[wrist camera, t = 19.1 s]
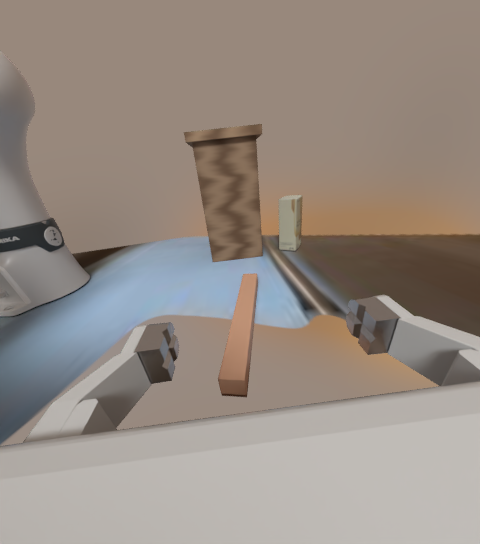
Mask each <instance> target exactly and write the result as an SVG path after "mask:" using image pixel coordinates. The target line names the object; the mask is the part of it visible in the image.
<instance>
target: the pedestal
mask: <svg viewBox="0 0 480 544" xmlns="http://www.w3.org/2000/svg"><path fill="white" fill-rule="evenodd" d="M261 134H262V124H258V125H248V126H239V127H230V128H220V129H211V130H202V131H192V132H185V133H184V135H185V140H186V143H187V144H189V145H190V146H192V147H193V151H194V157H195V162H196V168H197V173H198V179H199V185H200V191H201V196H202V201H203V208H204V214H205V219H206V225H207V231H208V237H209V242H210V248H211V254H212V259H213V262H218V261H226V260H234V259H242V258H250V257H258V256H263V254H262V236H261V218H260V200H259V184H258V165H257V146H256V139H257V138H258V137H259V136H260V135H261Z"/></svg>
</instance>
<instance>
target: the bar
mask: <svg viewBox="0 0 480 544" xmlns="http://www.w3.org/2000/svg"><path fill="white" fill-rule="evenodd" d="M257 287H258V279H257V274H243V278H242V282H241V286H240V290H239V294H238V299H237V303H236V307H235V311H234V315H233V319H232V323H231V328H230V332H229V336H228V340H227V345H226V348H225V353H224V357H223V361H222V365H221V369H220V373H219V377H218V381H219V385H220V390H221V394H222V396H234V397H235V396H236V397H247V392H248V382H249V372H250V361H251V350H252V340H253V331H254V317H255V307H256V297H257Z"/></svg>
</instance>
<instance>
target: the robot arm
mask: <svg viewBox="0 0 480 544" xmlns="http://www.w3.org/2000/svg"><path fill="white" fill-rule="evenodd" d="M34 113H35V102H34V97H33V95H32V92H31V89H30V87H29V85H28V83H27V81H26V80H25V78H24V76H23V75H22V74H21V72H20V71H19V70H18V68H17V67H16V66H15V65H14V64H13V62H12V61H11V60H10V59H9V58H8V57H7V56H6V55H5V54H3V53H2V52H1V51H0V316H15V315H18V314H21V313H23V312H25V311H27V310H30V309H32V308H34V307H36V306H39V305H41V304H44V303H47V302H50V301H53V300H55V299H58V298H60V297H63V296H65V295H67V294H69V293H71V292H73V291H75V290H77V289H78V288H80V287H81V286H83V285H84V284H85V283H86V282H87V281H88V280H89V279H90V275H89V274H88V273H87V272H86V271H85V270H84V269H83V268H82V267H81V266H80V264H79V263H78V262H77V261H76V259H75V258H74V257H73V255H72V254H71V252H70V251H69V250H68V248H67V246H66V245H65V243H64V240H63V237H62V233H61V231H60V229H59V227H58V226H57V224H56V222H55V220H54V219H53V218H51V217H50V216H49V214H48V212H47V210H46V208H45V206H44V204H43V202H42V199H41V198H40V195H39V193H38V191H37V189H36V187H35V185H34V182H33V180H32V177H31V174H30V170H29V167H28V161H27V152H26V135H27V130H28V126H29V123H30V121H31V119H32V118H33V116H34ZM348 308H349V309H350V312H349V313H348V314H347V317H346V322H347V327H348V329H349V331H350V333H351V334H352V335H353V336H355V337H356V338H358V339H359V341H358V343H359V344H360V346H361V347H362V348H363V349H364V351H365V352H366V353H367V354H368V355H370V354H380V353H388V354H389V355H391V356H392V357H394V358H396V359H397V360H399V361H400V362H402V363H404V364H405V365H407V366H408V367H410V368H412V369H413V370H415V371H417V372H418V373H420V374H421V375H423V376H425V377H426V378H428V379H430V380H431V381H433V382H434V383H436V384H438V385H439V387H433V388H424V389H417V390H410V391H402V392H395V393H388V394H380V395H373V396H366V397H359V398H351V399H344V400H336V401H329V402H322V403H314V404H307V405H300V406H292V407H285V408H279V409H270V410H264V411H257V412H249V413H241V414H234V415H226V416H219V417H212V418H204V419H197V420H190V421H182V422H174V423H168V424H160V425H152V426H145V427H138V428H130V429H123V430H117V429H116V427H117V426H118V425H119V424H120V423H121V421H122V420H123V419H124V418H125V416H126V415H127V414H128V413H129V412H130V410H131V409H132V408H133V407H134V406H135V404H136V403H137V402H138V401H139V399H140V398H141V397H142V396H143V395H144V393H145V392H146V391H147V390H148V388H149V387H150V386H151V384H153V383H160V382H166V381H172V377H173V374H174V370H175V365H174V361H175V360H176V359H177V357H178V353H179V352H178V351H179V344H178V339H177V337H176V336H175V335H174V334H173V332H174V327H173V324H172V323H170V322H169V323H160V324H150V325H142V326H137V327H135V328H134V330H133V332H132V334H131V335H130V337H129V339H128V341H127V342H126V344H125V346H124V348H123V350H122V351H121V353H120V355H115V356H114V357H113V358H111V359H110V360H109V361H107V362H106V363H105V364H103V365H102V366H101V367H99V368H98V369H97V370H96V371H94V372H93V373H91V374H90V375H89V376H88V377H86V378H85V379H84V380H82V381H81V382H80V383H78V384H77V385H76V386H74V387H73V388H72V389H70V390H69V391H68V392H66V393H65V394H64V395H62V396H61V397H60V398H58V399H57V400H56V401H54V402H53V403H52V404H51V405H50V407H49V408H48V409H47V411H46V412H45V413H44V415H43V416H42V417H41V419H40V420H39V421H38V423H37V424H36V426H35V427H34V428H33V430H32V431H31V432H30V434H29V435H28V437H27V438H26V439H25V440H24V442H23V443H21V444H14V445H6V446H0V544H480V337H477V336H474V335H471V334H469V333H466V332H463V331H460V330H457V329H454V328H451V327H448V326H445V325H442V324H439V323H437V322H434V321H431V320H428V319H425V318H422V317H419V316H416V317H414V316H413V315H412V314H411V313H409V312H408V311H407V310H405V309H404V308H403V307H401V306H400V305H399V304H397V303H396V302H395V301H393V300H392V299H391V298H389V297H388V296H386V295H380V296H374V297H369V298H361V299H353V300H350V302H349V305H348Z"/></svg>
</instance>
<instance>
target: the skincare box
mask: <svg viewBox="0 0 480 544" xmlns="http://www.w3.org/2000/svg"><path fill="white" fill-rule="evenodd" d="M301 223H302V195H297V196H285V197H283V198H281V199H279V250H292V251H296V250H297V249H298V247H299V246H300V244H301Z"/></svg>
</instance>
